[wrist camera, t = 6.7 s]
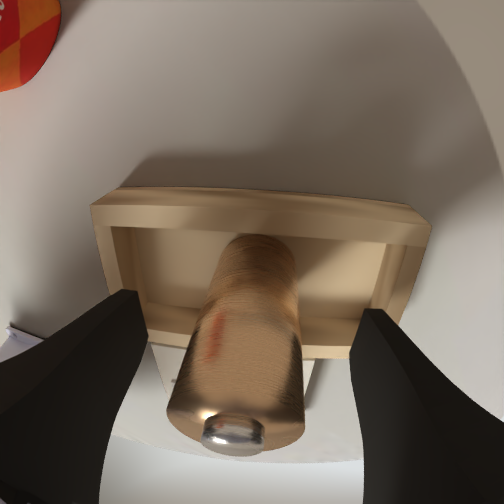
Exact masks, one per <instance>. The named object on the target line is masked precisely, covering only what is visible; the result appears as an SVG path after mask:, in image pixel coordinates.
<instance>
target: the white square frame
mask: <svg viewBox="0 0 504 504" xmlns="http://www.w3.org/2000/svg"><path fill="white" fill-rule="evenodd" d="M151 347H152V350H153V353H154V357H155V360H156V363H157V366H158V370H159V373H160V376H161V379H162V382H163V385H164V388H165V391H166V393H167V396H168V399H169V400H170V397H171V394H172V391H173V388H174V385H175V382H176V379H177V376H178V373H179V370H180V367H181V364H182V361H183V358H184V355H185V353H186V350H187V347H181V346H175V345H168V344H162V343H156V342H152V343H151ZM314 362H315V358H303V378H304V396H305V392H306V389H307V386H308V383H309V379H310V376H311V373H312V369H313V366H314Z"/></svg>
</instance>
